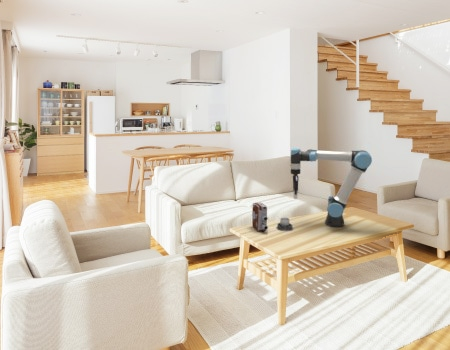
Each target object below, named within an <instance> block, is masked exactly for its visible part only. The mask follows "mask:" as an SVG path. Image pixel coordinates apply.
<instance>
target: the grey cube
mask: <svg viewBox="0 0 450 350" xmlns="http://www.w3.org/2000/svg"><path fill="white" fill-rule="evenodd" d="M279 223H280V226H285V227H287V226H289V223H290V218H288V217H281V218H280V219H279Z"/></svg>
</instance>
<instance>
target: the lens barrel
mask: <svg viewBox="0 0 450 350" xmlns="http://www.w3.org/2000/svg"><path fill="white" fill-rule="evenodd" d="M276 230H278V231H282V232H292V231H293V230H294V227H293V224H292V223H290V222H289V226H287V227H285V226H280V222H279V223H277V226H276Z"/></svg>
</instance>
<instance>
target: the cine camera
mask: <svg viewBox="0 0 450 350" xmlns="http://www.w3.org/2000/svg"><path fill="white" fill-rule="evenodd" d="M251 219H252V220H251V224H252V225H251V226H252V228H254V229H255V230H256V231H257V232H265V231H267V230H268V228H269V226H268V223H267V222H268V219H269V218H268V206H267V205H266V204H265V203H263V202H253V203H252V214H251Z"/></svg>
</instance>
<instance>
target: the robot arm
mask: <svg viewBox="0 0 450 350" xmlns="http://www.w3.org/2000/svg"><path fill="white" fill-rule="evenodd" d="M317 160H320V161H333V162H334V161H336V162H349V163H350V170H349V172H348V174H347V175H346V176H345V178H344V180H343V182H342V184H341V186H340V188H339V190H338V191H337V193H336V195H329V196H328V200H327V201H328V202H327V203H328V204H327V208H326V210H327V214H326V218H325V220H324V224H325V226H328V227H334V228H341V227H344V226H345V220H344V217H343V215H344V210H345V209H346V207H347V205H348V202H347V200H348V199H349V197H350V195H351V193H352V192H353V190H354V188H355V187H356V184H357V183H358V181H359V179H360V177H361V176H362V174H364V173H366V171H367V170H368V168H369V167H370V166H371V165H372V161H373V158H372V156H371V154H370V152H368V151H367V150H363V149H362V150H361V149H360V150H351V151H341V150H321V149H319V150H318V149H317V150H316V149H307V150H306V151H302V150H301V148H292V149H290V164H289V166H290V174H291V175H292V190H293V199H295V200H296V199H298V190H299V175H300V174H301V168H302V167H301V164H302V163H301V162H317Z"/></svg>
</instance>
